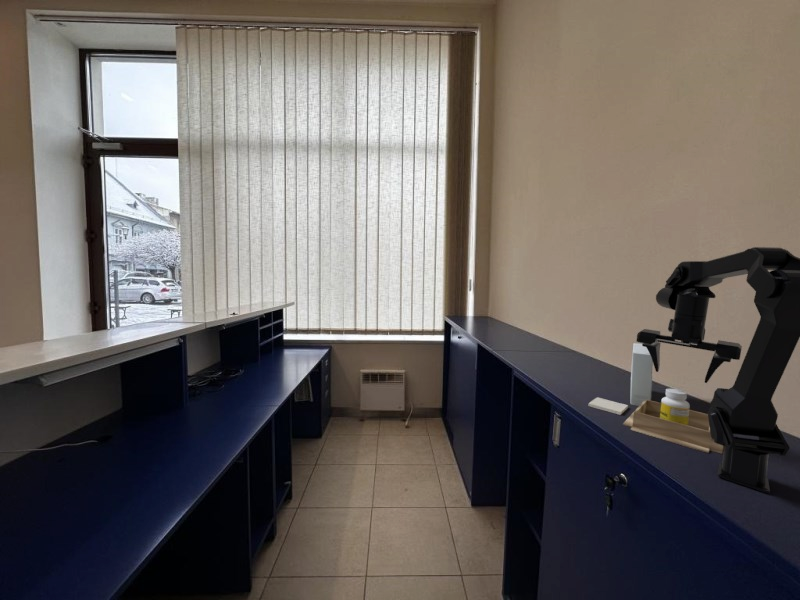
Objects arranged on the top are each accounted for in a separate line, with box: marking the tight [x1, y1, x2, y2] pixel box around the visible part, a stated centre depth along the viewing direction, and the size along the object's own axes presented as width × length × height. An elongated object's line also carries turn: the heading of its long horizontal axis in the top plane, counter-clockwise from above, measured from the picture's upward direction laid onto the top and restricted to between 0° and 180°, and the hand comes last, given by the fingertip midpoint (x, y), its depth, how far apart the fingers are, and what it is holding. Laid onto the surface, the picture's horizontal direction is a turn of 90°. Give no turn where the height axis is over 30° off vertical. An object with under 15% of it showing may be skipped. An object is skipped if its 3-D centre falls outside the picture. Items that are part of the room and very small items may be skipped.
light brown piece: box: [622, 399, 724, 455], centre depth 81 cm, size 18×18×4 cm
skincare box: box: [629, 342, 654, 407], centre depth 105 cm, size 21×6×16 cm, turn 144°
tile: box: [587, 396, 629, 416], centre depth 95 cm, size 8×8×1 cm
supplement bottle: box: [660, 388, 691, 425], centre depth 81 cm, size 5×5×10 cm
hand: (680, 376), depth 81 cm, fingers open, 9 cm apart
